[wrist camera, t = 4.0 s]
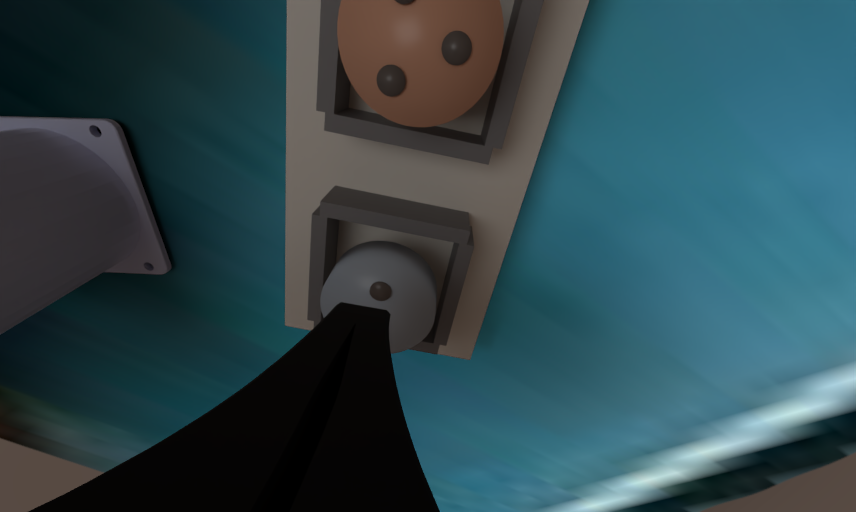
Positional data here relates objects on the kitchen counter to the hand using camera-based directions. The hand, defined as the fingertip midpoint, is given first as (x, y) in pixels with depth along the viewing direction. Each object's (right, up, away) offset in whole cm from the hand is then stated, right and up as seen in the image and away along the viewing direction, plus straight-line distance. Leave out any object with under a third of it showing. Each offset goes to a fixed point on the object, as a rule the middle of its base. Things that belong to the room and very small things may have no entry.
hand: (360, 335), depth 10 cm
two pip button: (0, +1, +5) cm, 6 cm away
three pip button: (+2, +8, +1) cm, 9 cm away
